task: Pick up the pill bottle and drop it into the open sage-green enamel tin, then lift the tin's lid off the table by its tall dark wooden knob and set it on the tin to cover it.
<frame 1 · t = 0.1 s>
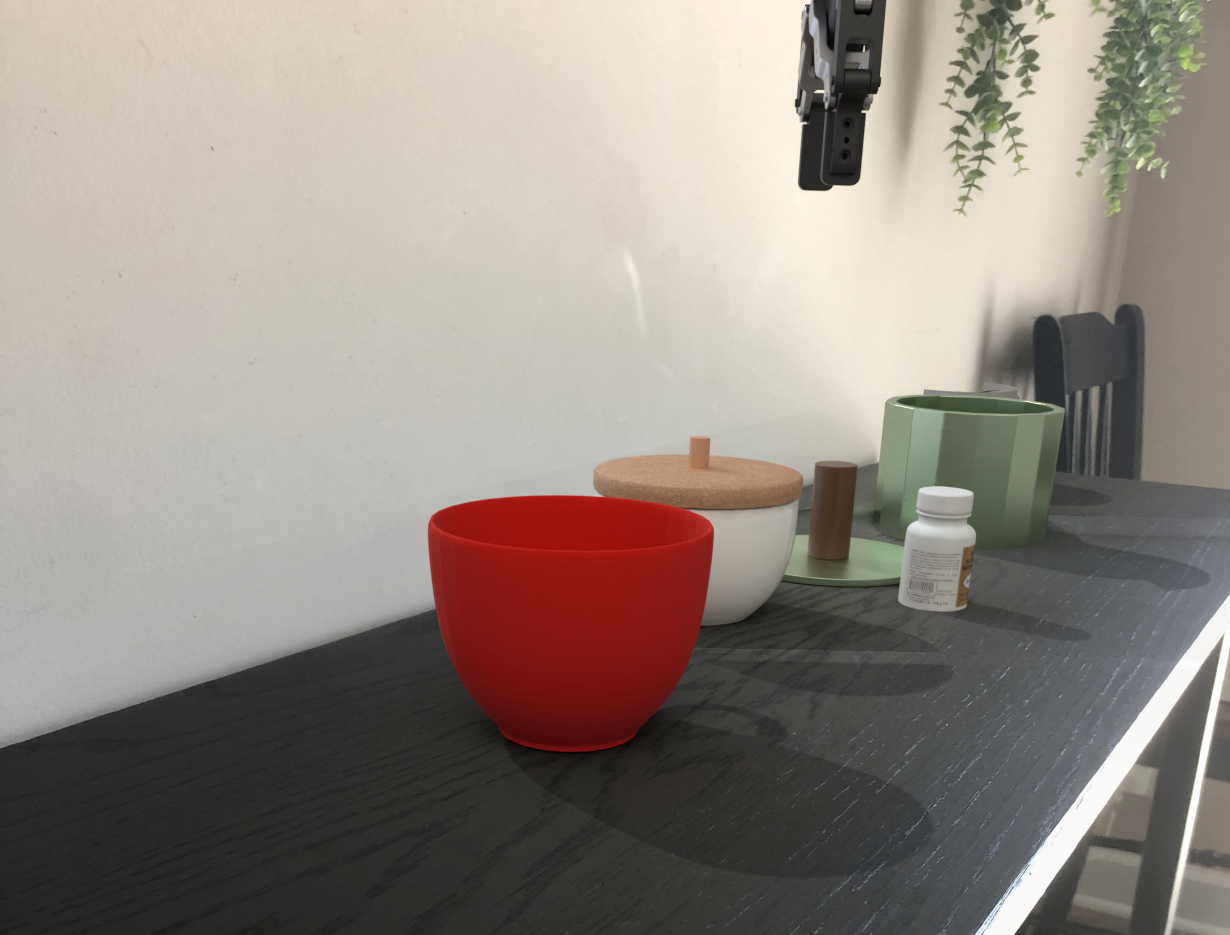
hand: (826, 188, 80), 25 cm above the table, tool pointing down, fingers open, 8 cm apart
lid: (827, 562, 97), point 1 cm above the table
pill bottle: (930, 613, 87), on the table
ceramic cup: (579, 719, 66), on the table
lidded bowl: (690, 621, 84), on the table
tin: (957, 537, 109), on the table
food container: (970, 501, 126), on the table
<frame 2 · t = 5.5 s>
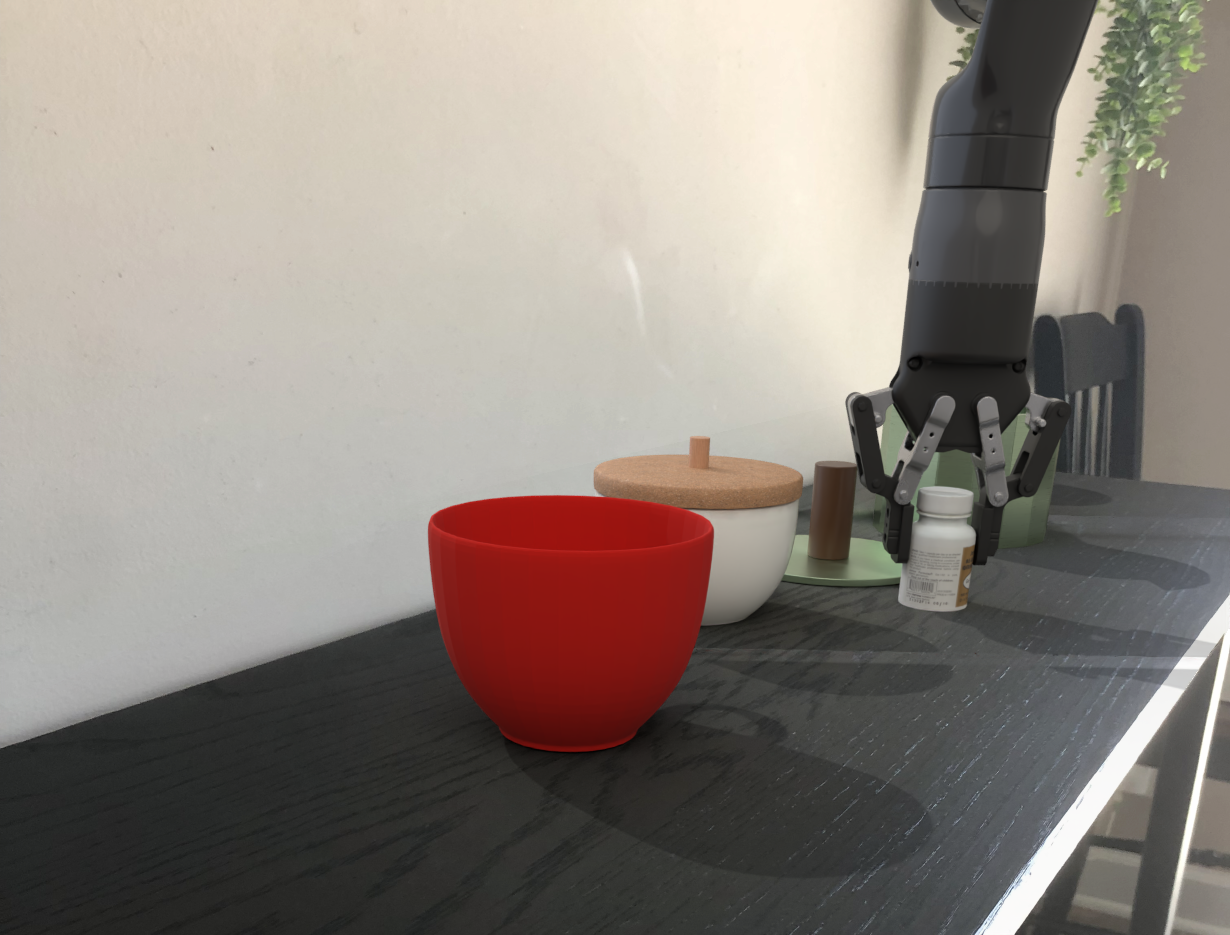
hand: (938, 560, 86), 3 cm above the table, tool pointing down, fingers closed on pill bottle, 4 cm apart
pill bottle: (931, 613, 87), on the table, touching gripper
everything else where it was.
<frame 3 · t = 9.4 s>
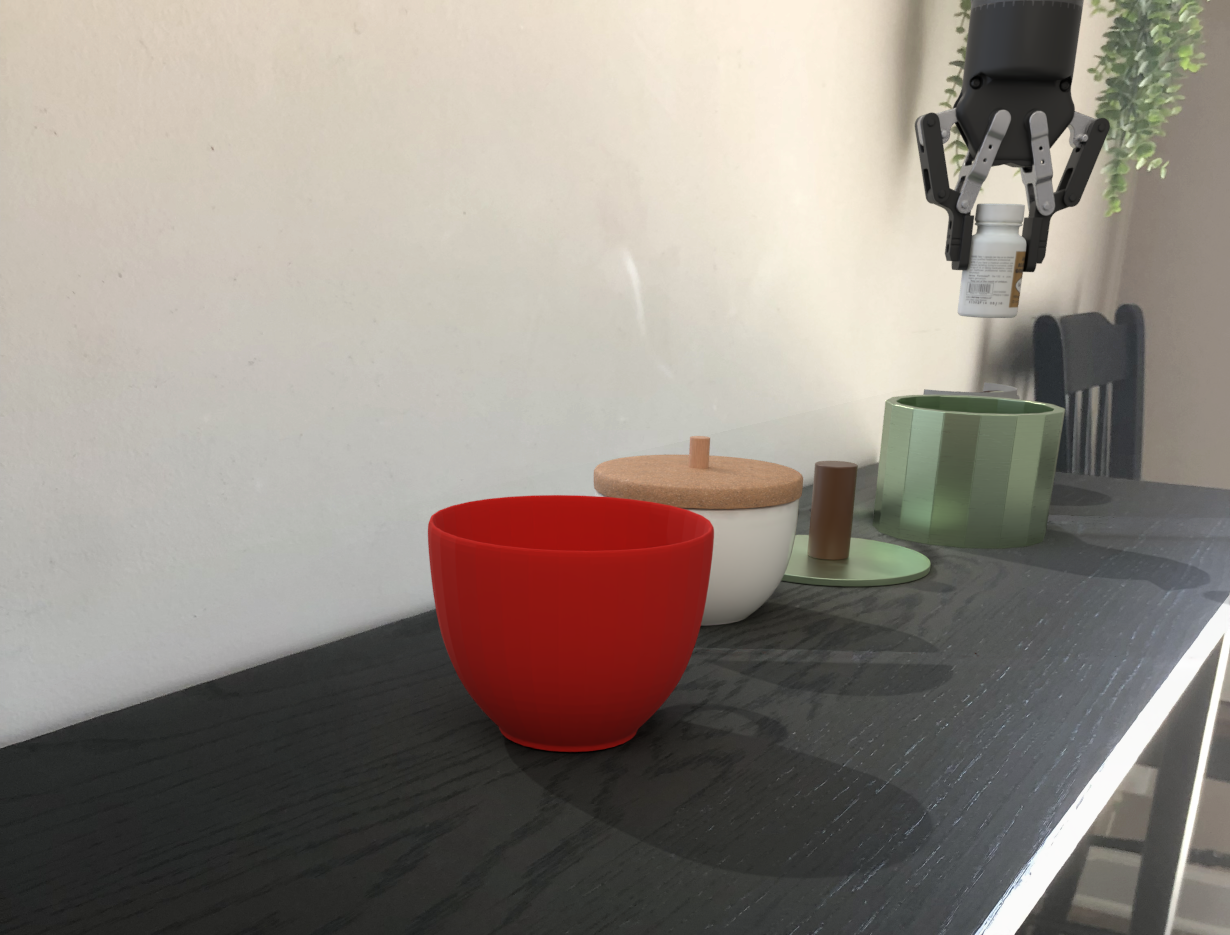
hand: (993, 269, 99), 20 cm above the table, tool pointing down, fingers closed on pill bottle, 4 cm apart
pill bottle: (986, 319, 100), point 17 cm above the table, touching gripper
everything else where it was.
when the fingers open (7 cm above the table, at t = 14.2 s): pill bottle stays where it is, resting on tin.
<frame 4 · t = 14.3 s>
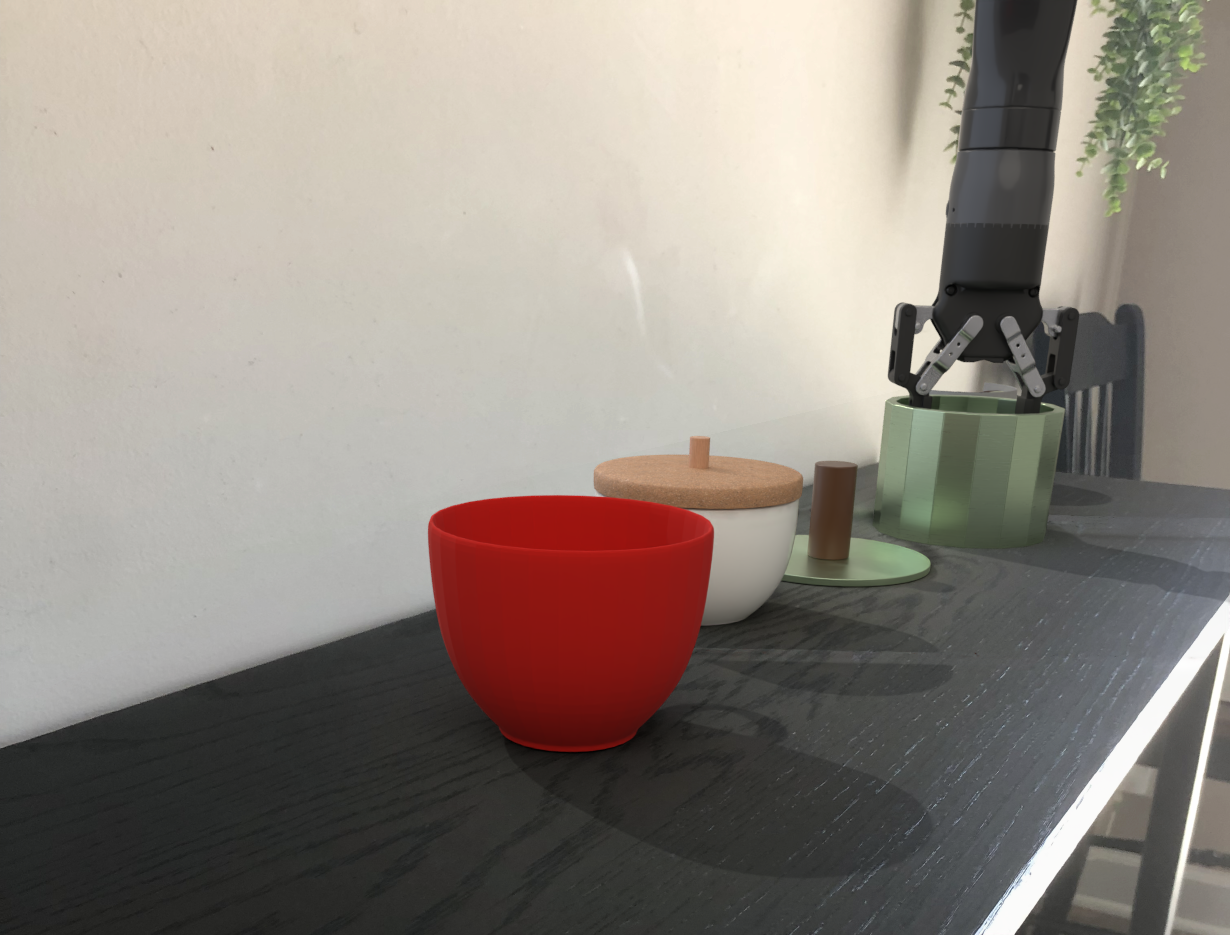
hand: (969, 444, 106), 7 cm above the table, tool pointing down, fingers open, 7 cm apart
pill bottle: (959, 533, 109), resting on tin
everything else where it was.
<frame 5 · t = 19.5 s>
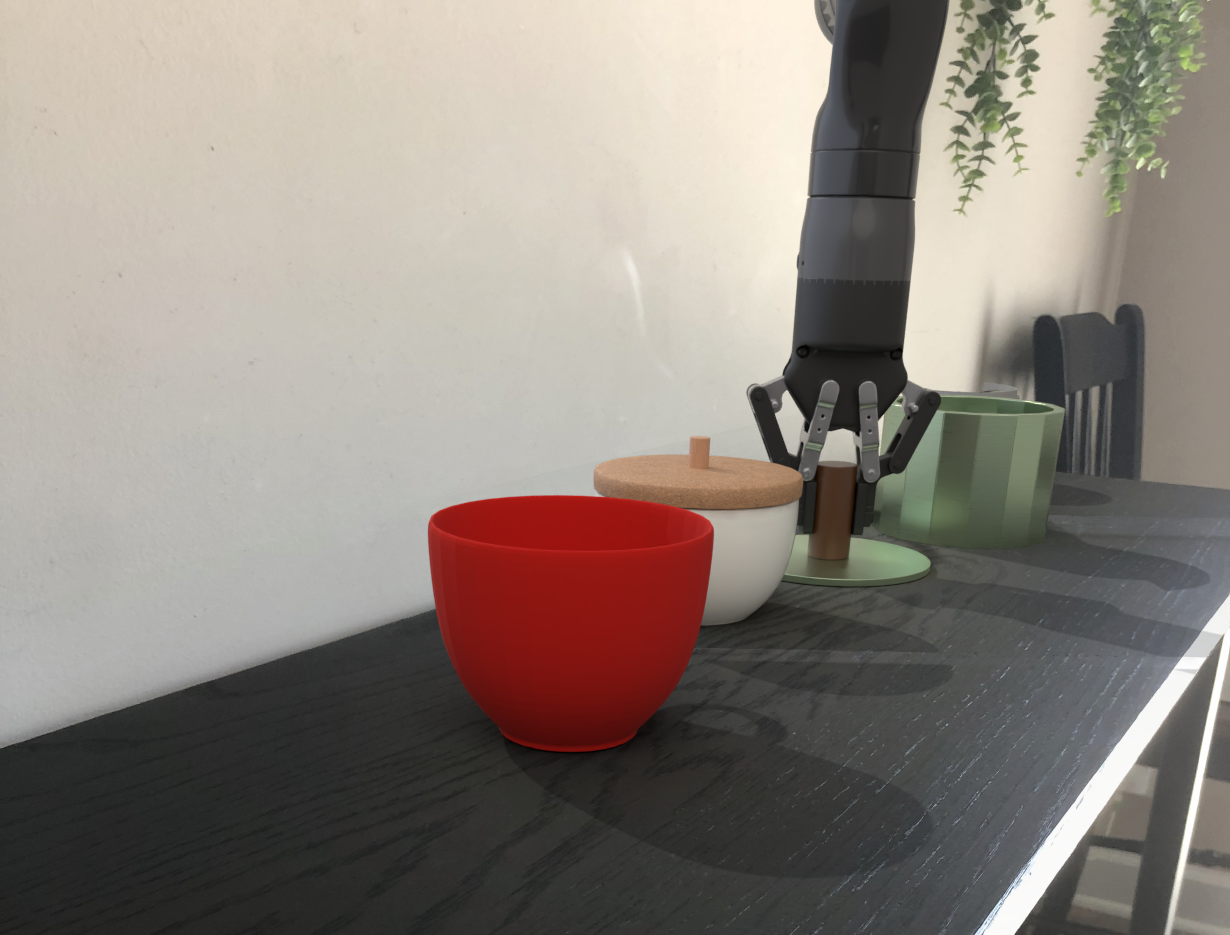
hand: (830, 531, 96), 3 cm above the table, tool pointing down, fingers closed on lid, 3 cm apart
lid: (827, 562, 97), point 1 cm above the table, touching gripper
everything else where it was.
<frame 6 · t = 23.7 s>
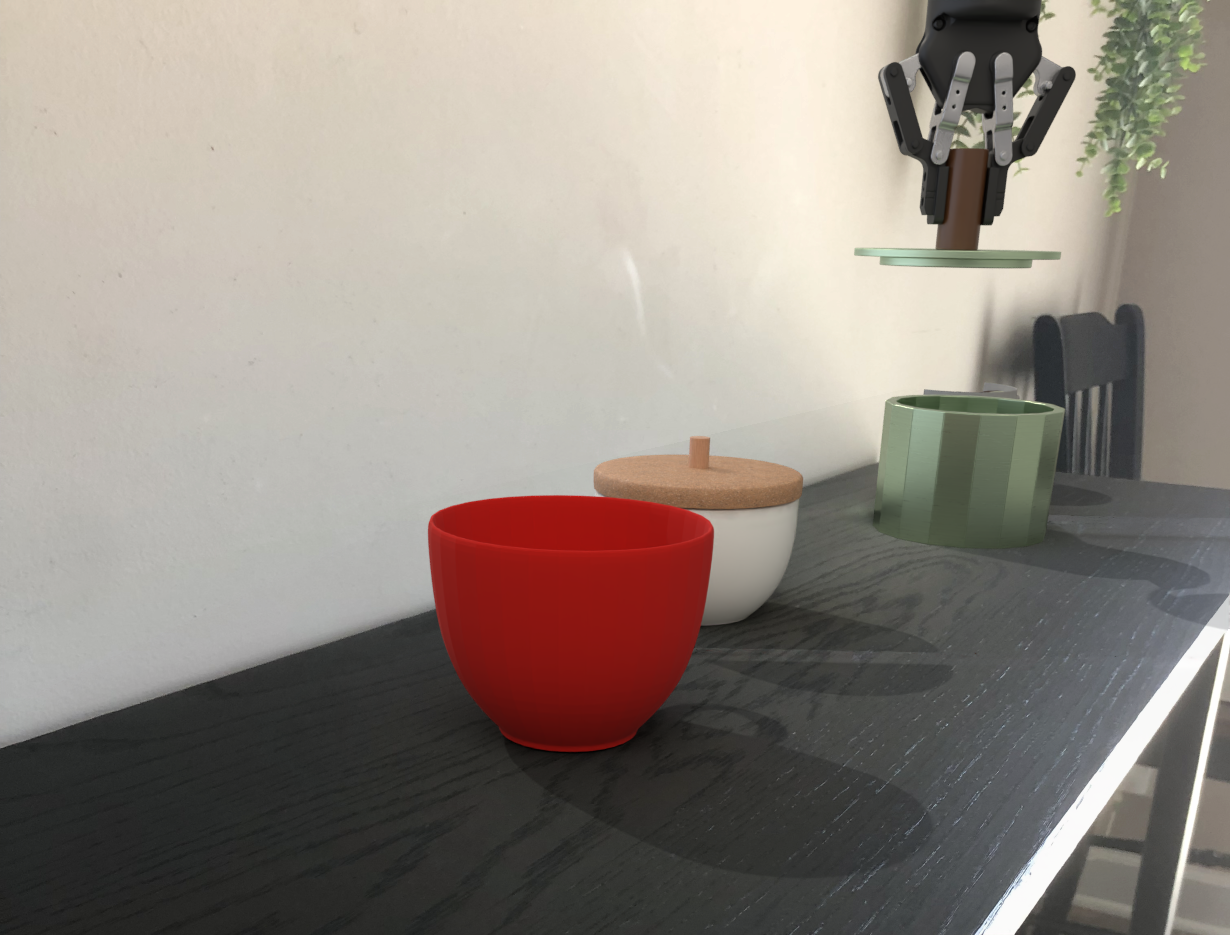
hand: (959, 223, 96), 23 cm above the table, tool pointing down, fingers closed on lid, 3 cm apart
lid: (955, 257, 97), point 21 cm above the table, touching gripper
everything else where it was.
when the fingers open (13 cm above the table, at t = 27.9 s): lid stays where it is, resting on tin.
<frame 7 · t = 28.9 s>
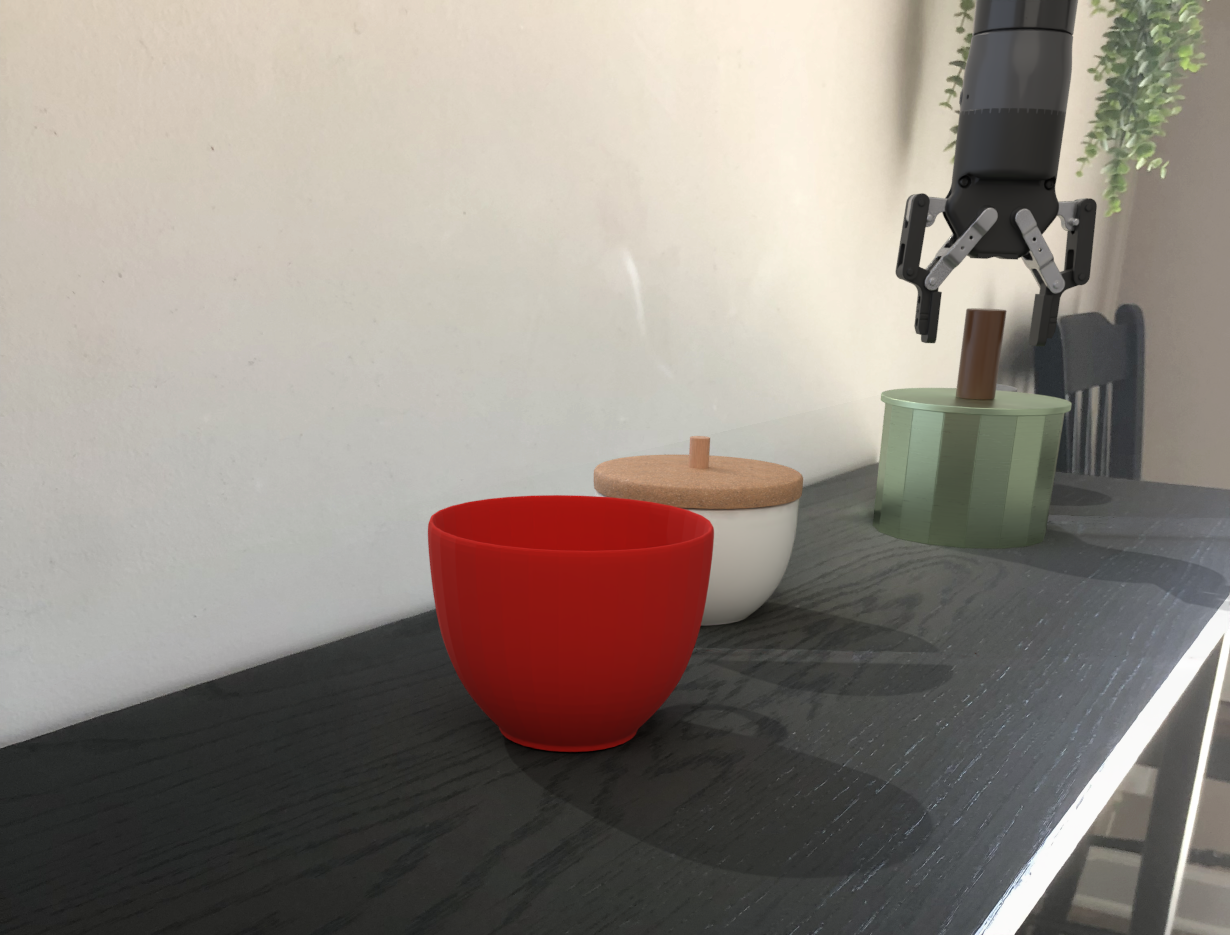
hand: (982, 344, 103), 15 cm above the table, tool pointing down, fingers open, 8 cm apart
lid: (974, 404, 105), point 10 cm above the table, touching tin
everything else where it was.
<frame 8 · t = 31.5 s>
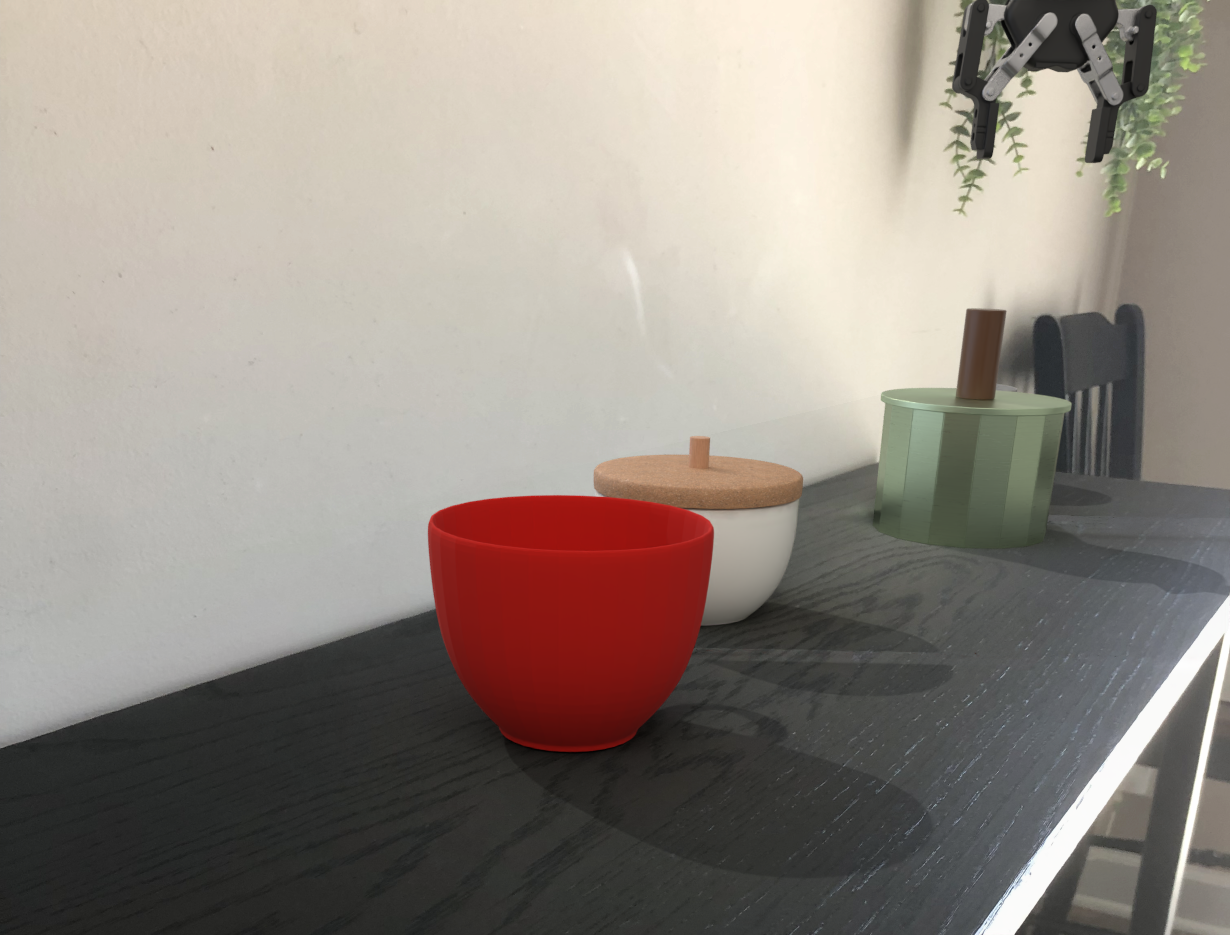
hand: (1039, 160, 103), 28 cm above the table, tool pointing down, fingers open, 8 cm apart
nothing on the table moved.
at the end: pill bottle inside the target area in the tin (0.2 cm from its centre), point 0.3 cm above the tin's base; lid 0.0 cm off-centre on the tin, point 10.5 cm above the tin's base; lid tilted 0° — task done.
